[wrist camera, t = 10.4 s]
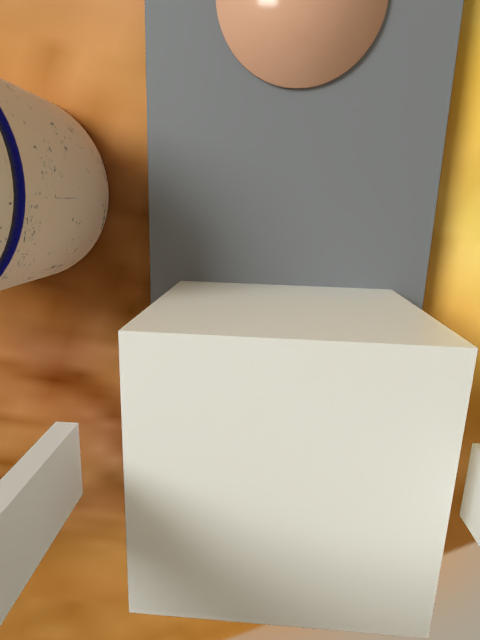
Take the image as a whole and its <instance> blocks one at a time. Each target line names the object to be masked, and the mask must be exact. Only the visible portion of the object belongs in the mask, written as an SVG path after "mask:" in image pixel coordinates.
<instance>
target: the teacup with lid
mask: <svg viewBox="0 0 480 640" xmlns="http://www.w3.org/2000/svg"><path fill="white" fill-rule="evenodd" d="M108 202H109V190H108V181H107V175H106V171H105V168H104V164H103V161H102V159H101V156H100V154H99V152H98V150H97V148H96V146H95V144H94V143H93V141H92V139H91V138H90V136H89V135H88V134H87V132H86V131H85V130H84V129H83V127H82V126H81V125H80V124H79V123H78V122H77V121H76V120H75V119H74V118H73V117H72V116H71V115H69V114H68V113H67V112H65V111H64V110H63V109H61V108H60V107H58V106H57V105H55V104H53V103H51V102H49V101H47V100H45V99H43V98H41V97H39V96H37V95H35V94H32V93H30V92H28V91H26V90H24V89H22V88H20V87H18V86H16V85H14V84H12V83H9V82H7V81H5V80H3V79H1V78H0V291H1V290H4V289H7V288H11V287H14V286H17V285H20V284H24V283H27V282H30V281H34V280H37V279H40V278H44V277H47V276H50V275H53V274H56V273H59V272H62V271H64V270H66V269H68V268H70V267H71V266H73V265H75V264H76V263H77V262H79V261H80V260H81V259H82V258H83V257H84V256H85V255H86V254H87V253H88V252H89V251H90V250H91V249H92V247H93V246H94V244H95V243H96V241H97V240H98V238H99V236H100V234H101V232H102V229H103V227H104V224H105V220H106V217H107V211H108Z"/></svg>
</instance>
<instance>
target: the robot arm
mask: <svg viewBox="0 0 480 640" xmlns="http://www.w3.org/2000/svg"><path fill="white" fill-rule="evenodd" d="M82 494H83V487H82V472H81V457H80V442H79V427H78V423H72V422H55V423H54V424H53V425H52V426H51V427H50V429H49V430H48V431H47V432H46V433H45V434H44V435H43V436H42V437H41V438H40V439H39V440H38V441H37V442H36V443H35V444H34V445H33V446H32V447H31V448H30V449H29V450H28V451H27V453H26V454H25V455H24V456H23V457H22V458H21V459H20V460H19V461H18V462H17V463H16V464H15V465H14V466H13V467H12V468H11V469H10V470H9V471H8V472H7V473H6V474H5V475H4V477H3V478H2V479H1V480H0V626H1V624H2V622H3V621H4V619H5V618H6V616H7V614H8V613H9V611H10V610H11V608H12V606H13V605H14V603H15V602H16V600H17V598H18V597H19V595H20V593H21V592H22V590H23V589H24V587H25V585H26V584H27V582H28V581H29V579H30V577H31V576H32V574H33V573H34V571H35V569H36V568H37V566H38V565H39V563H40V561H41V560H42V558H43V557H44V555H45V553H46V552H47V550H48V549H49V547H50V545H51V544H52V542H53V541H54V539H55V537H56V536H57V534H58V533H59V531H60V529H61V528H62V526H63V525H64V523H65V521H66V520H67V518H68V517H69V515H70V513H71V512H72V510H73V509H74V507H75V505H76V504H77V502H78V501H79V499H80V497H81V496H82ZM460 517H461V518H462V520H463V522H464V523H465V525H466V526H467V528H468V529H469V531H470V532H471V534H472V536H473V537H474V539H475V540H476V542H477V543H478V545H479V546H480V443H472V448H471V454H470V459H469V465H468V471H467V476H466V482H465V487H464V493H463V498H462V504H461V510H460Z"/></svg>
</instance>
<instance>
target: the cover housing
mask: <svg viewBox="0 0 480 640" xmlns="http://www.w3.org/2000/svg"><path fill="white" fill-rule="evenodd" d="M118 338H119V364H120V390H121V415H122V441H123V466H124V492H125V518H126V543H127V569H128V594H129V612H130V613H142V614H153V615H165V616H176V617H187V618H199V619H210V620H222V621H233V622H244V623H256V624H267V625H280V626H290V627H301V628H314V629H324V630H336V631H347V632H359V633H370V634H381V635H394V636H404V637H415V638H427V639H428V638H429V633H430V627H431V621H432V615H433V610H434V603H435V598H436V592H437V585H438V579H439V574H440V568H441V562H442V557H443V551H444V545H445V539H446V533H447V527H448V521H449V516H450V510H451V504H452V498H453V492H454V486H455V480H456V475H457V469H458V463H459V457H460V451H461V445H462V439H463V433H464V428H465V422H466V416H467V410H468V404H469V398H470V392H471V386H472V381H473V375H474V369H475V363H476V357H477V351H478V348H477V347H476V346H474V345H473V344H471V343H470V342H468V341H467V340H465V339H464V338H462V337H461V336H459V335H458V334H456V333H455V332H454V331H452V330H451V329H449V328H448V327H446V326H445V325H443V324H442V323H440V322H439V321H437V320H436V319H434V318H433V317H431V316H430V315H429V314H427V313H426V312H424V311H423V310H421V309H420V308H418V307H417V306H415V305H414V304H412V303H411V302H409V301H408V300H406V299H405V298H404V297H402V296H401V295H399V294H398V293H396V292H395V291H393V290H391V289H367V288H343V287H319V286H294V285H270V284H246V283H222V282H198V281H180V282H179V283H177V284H176V285H175V286H174V287H172V288H171V289H170V290H169V291H167V292H166V293H165V294H164V295H162V296H161V297H160V298H159V299H157V300H156V301H155V302H154V303H152V304H151V305H150V306H149V307H147V308H146V309H145V310H143V311H142V312H141V313H140V314H138V315H137V316H136V317H135V318H133V319H132V320H131V321H130V322H128V323H127V324H126V325H125V326H123V327H122V328H121V329H120V330H118Z"/></svg>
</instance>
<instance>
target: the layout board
mask: <svg viewBox="0 0 480 640" xmlns="http://www.w3.org/2000/svg"><path fill="white" fill-rule="evenodd" d="M463 3H464V0H145V37H146V87H147V137H148V188H149V238H150V288H151V304H152V303H154V302H155V301H156V300H157V299H159V298H160V297H161V296H162V295H164V294H165V293H166V292H167V291H169V290H170V289H171V288H172V287H174V286H175V285H176V284H177V283H179V282H180V281H198V282H222V283H246V284H270V285H294V286H319V287H343V288H367V289H391V290H393V291H395V292H396V293H398V294H399V295H401V296H402V297H404V298H405V299H406V300H408V301H409V302H411V303H412V304H414V305H415V306H417V307H418V308H420V309H421V310H422V307H423V299H424V292H425V285H426V277H427V270H428V262H429V255H430V248H431V240H432V233H433V225H434V218H435V210H436V203H437V196H438V188H439V181H440V173H441V166H442V158H443V151H444V144H445V136H446V129H447V121H448V114H449V107H450V99H451V92H452V84H453V77H454V69H455V62H456V55H457V47H458V40H459V32H460V25H461V17H462V10H463Z"/></svg>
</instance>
